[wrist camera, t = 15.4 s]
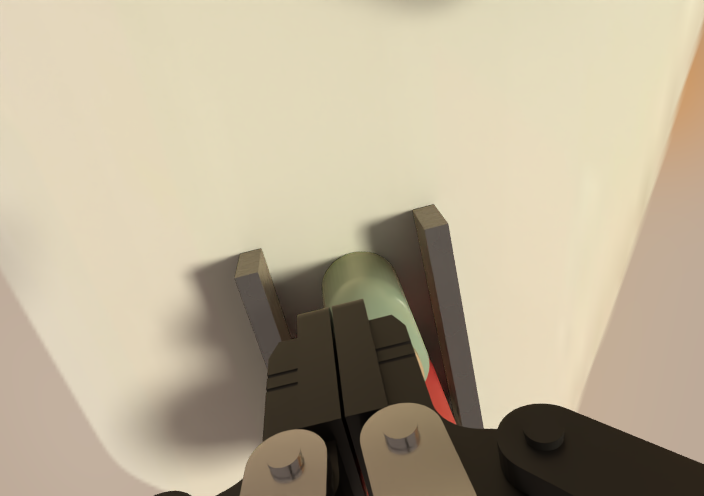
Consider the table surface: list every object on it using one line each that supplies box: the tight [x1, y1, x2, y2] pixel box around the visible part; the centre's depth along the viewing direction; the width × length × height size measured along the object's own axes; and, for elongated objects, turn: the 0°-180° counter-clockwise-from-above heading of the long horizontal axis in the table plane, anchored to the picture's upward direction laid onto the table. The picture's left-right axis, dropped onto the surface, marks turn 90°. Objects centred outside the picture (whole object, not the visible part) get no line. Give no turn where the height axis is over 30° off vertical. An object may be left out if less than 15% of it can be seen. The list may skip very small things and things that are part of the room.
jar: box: [322, 252, 429, 381], centre depth 27 cm, size 4×4×9 cm
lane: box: [235, 205, 484, 429], centre depth 31 cm, size 18×11×5 cm, turn 13°
